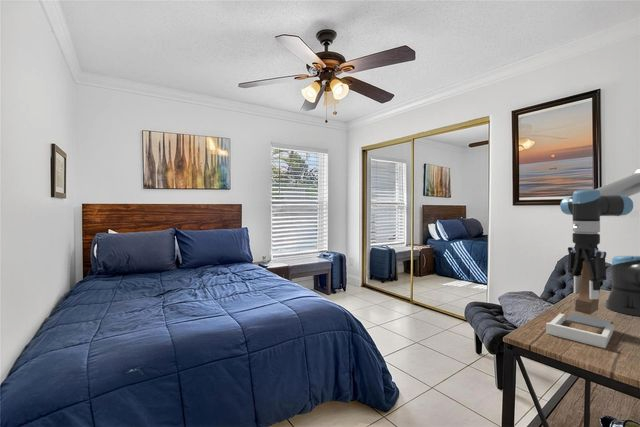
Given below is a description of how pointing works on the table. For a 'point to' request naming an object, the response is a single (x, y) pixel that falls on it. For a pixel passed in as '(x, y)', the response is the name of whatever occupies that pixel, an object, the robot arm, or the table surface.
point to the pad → (588, 320)
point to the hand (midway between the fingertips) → (585, 296)
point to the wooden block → (585, 294)
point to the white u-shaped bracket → (579, 332)
